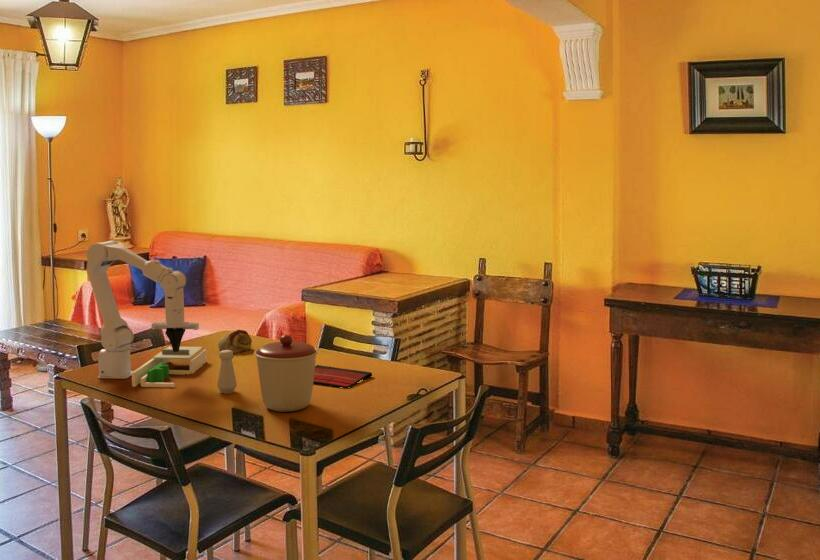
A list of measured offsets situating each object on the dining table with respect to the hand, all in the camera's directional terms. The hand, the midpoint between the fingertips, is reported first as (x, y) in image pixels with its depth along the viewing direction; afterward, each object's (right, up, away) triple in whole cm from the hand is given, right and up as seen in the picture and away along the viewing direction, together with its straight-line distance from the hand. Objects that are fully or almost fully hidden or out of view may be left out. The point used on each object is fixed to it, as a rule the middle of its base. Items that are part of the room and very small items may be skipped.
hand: (176, 351), depth 251 cm
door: (-4, -2, +16) cm, 16 cm away
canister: (+40, -14, -25) cm, 49 cm away
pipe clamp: (-6, -10, +1) cm, 11 cm away
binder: (+50, -10, +4) cm, 51 cm away
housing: (-4, -8, +9) cm, 13 cm away
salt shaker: (+19, -12, -12) cm, 25 cm away
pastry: (+9, -4, +43) cm, 44 cm away
